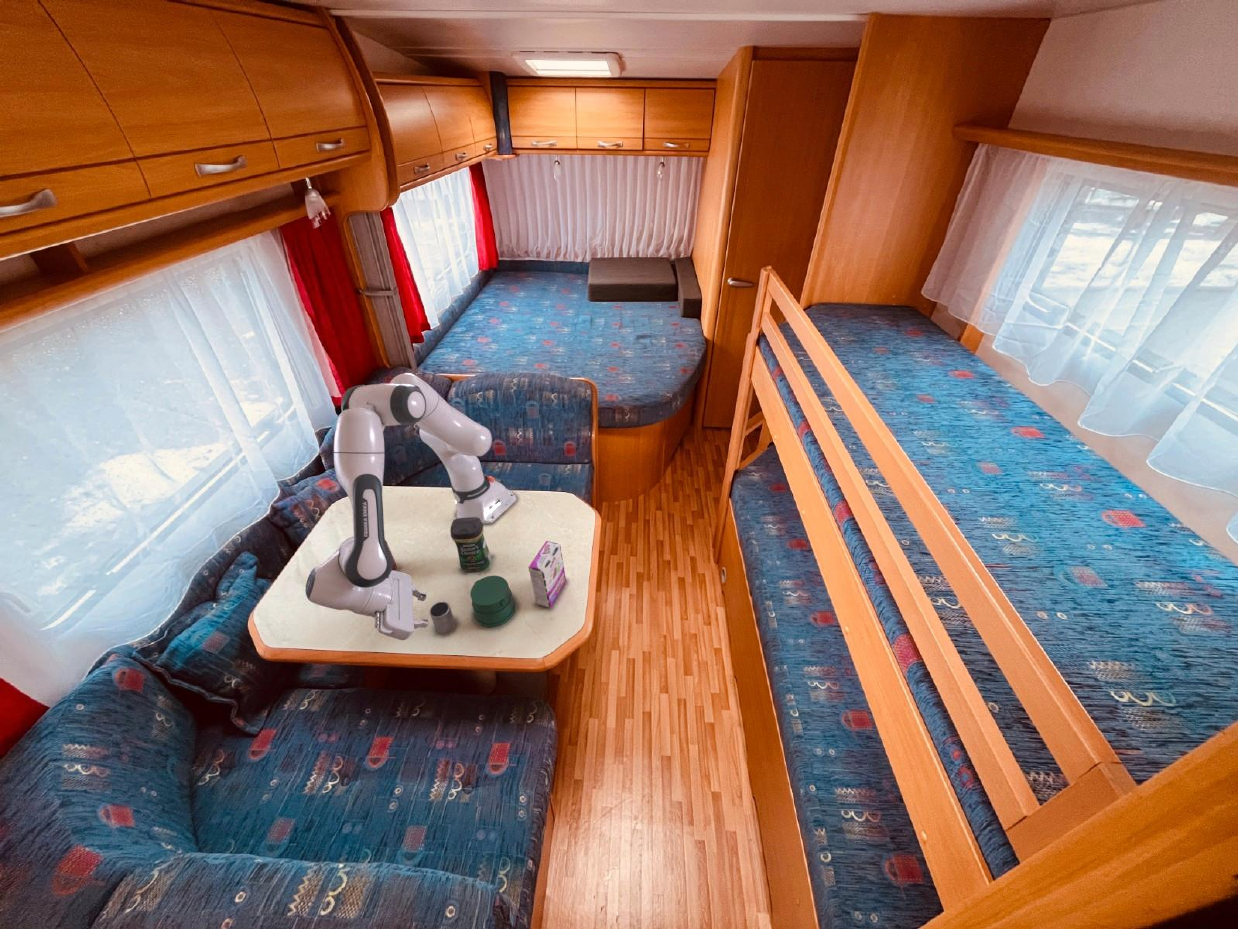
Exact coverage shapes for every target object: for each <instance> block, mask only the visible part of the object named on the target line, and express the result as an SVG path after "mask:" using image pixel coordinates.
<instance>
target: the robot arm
mask: <svg viewBox="0 0 1238 929" xmlns="http://www.w3.org/2000/svg"><path fill="white" fill-rule="evenodd" d="M340 409H341V413H340V414H339V415H338V417H337V421H336V426H335V430H334V438H333V465H334V471H335V475H336V479H337V481H338V483H339V484H340V486H341V488H343V490H344V491H345V493H346V495H347V497H348V499H349V501H350V504H351V509H352V529H353V530H352V531H353V536H351V537H348V538H347V539H345V540H344V541H342V543H341V544H340V545H339V547H338V548H337V549H336V550H335V551H334V552H333V553H332V554H331V556H329V557H328V559H326V560H325V561H324V562H322V563H321V564H320V565H317V566H315V567H313V568H312V570H311V571H310V573H309V575H308V577H307V580H306V583H305V591H304V592H305V596H306V598H307V600H308V601H309V602H311V603H313V604H315V605H316V606H317V605H318V606H321V607H324V608H328V609H332V610H335V611H336V610H337V611H350V612H351V613H353V614H355V615H361V616H366V617H370V618H374V621H375V622H374V628H375V629H376V630H377V631H378V632H379V633H380V634H383V635H384V636H387V637H390V638H392V639H396V640H400V641H406V640H408V639H409V638H410V637H411V636H412V635H413V633H414V632H415V630H416V629H419V628H422V629H426V628H427V627H428V626H429V619H428V618H421V619H420V621H418V620H417V619H414V617H415V616H414V597H415V598H416V599H417V601H420V602H425V600H426V599H427V593H426V592H422V591H421V590H419V588H417V587H415V586H413V578H412V577H411V575H409V574H408V573H405V572H402V571H393V570H392V568H393V557H394V556H393V557H392V555H393V553H392V551H391V550H390V551H391V552H390V551H389V549H388V547H387V545H386V542H387V541H386V542H385V540H386V537H385V520H384V503H383V492H384V490H383V488H384V476H385V475H384V473H385V457H386V456H385V438H384V430H385V428H386V427H390V426H391V427H392V426H410V425H414V424H415V425H416V426H417V427H418V428H419V431H418V432H419V437H420V439H421V441H422V442H423V443H424V444H426V445H427V446H428V447H429V448H430V449H431V450H432V451H433V452H434V453H435V455H436V456H437V457H438V458H439V459H440V461H441V462H442V464H443V466H444V467H445V470H446V471H447V475H448V477H449V480H450V483H451V484H450V486H451V492H452V495H453V498H454V501H455V505H456V519H458V518H467V517H478V518H480V520H481V522H482V524H493V523H494V522H495V521H497V519H499V518H500V516H502V514H504V512H506V511H508V509H509V508H510V507H511V506H513V505H514V504H515V502H516V501H517V497H516V495H515V493H513V491H511V490H509V489H508V488H506V486H505V485H504V483H503V482H504V481H503V479H501V478H496V477H493V476H492V475H490V476H488V474H486V473H485V472H483V468H482V464H481V462H480V459H479V458H478V457H482V456H484V455H486V454H487V453H488V452H489V450H490V449H491V447H492V443H493V436H492V433H491V431H490V430H489V428H487V427H485V426H483V425H482V424H480V423H477V422H476V421H474V420H473V419H471V418H470V417H468V416H467V415H466V414H464V413H463V412H461V411H459V409H456V408H455V407H453V406H452V405H451V404H450V403H448V402H447V401H446V400H445V399H444V398H443V397H442V396H441V395H440V394H439V393H438V392H437V391H436V390H435V389H434V388H433V387H432V386H431V385H430V384H428V383H427V382H426V381H424V380H423V379H422V378H420V377H419V376H417V375H415V374H413V373H409V372H404V373H400V374H398V375H396V376H395V377H393V378H392V379H391V380H390V382H389V383H375V384H367V385H365V384H359V385H354V386H352V387H350V388H347V389H346V391H344V393H343V396H342V398H341V402H340ZM391 553H392V554H391Z"/></svg>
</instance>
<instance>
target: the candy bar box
mask: <svg viewBox="0 0 1238 929" xmlns="http://www.w3.org/2000/svg"><path fill="white" fill-rule="evenodd" d="M527 568H528V572H529V576H530V581H531V584H532V590H533V593H534V598H535V602H536V605H539V606H541V607H542V606H543V607H546V608H549V609H551V608H552V606H553V604H554V603H555V601H556V599H557V598H558V596H559V594H560V592H561V591H562V589H563V587H564V585H565V584H566V582H567V576H566V571H565V566H564V559H563V554H562V547H561V543H558V542H553V541H550V540H545V542H544V543H543V545H542V547H541V548H540V550H538V552H537V554H536V555H535V557H534V558H533V560H532V561H531V563H530V564H529V566H528V567H527Z"/></svg>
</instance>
